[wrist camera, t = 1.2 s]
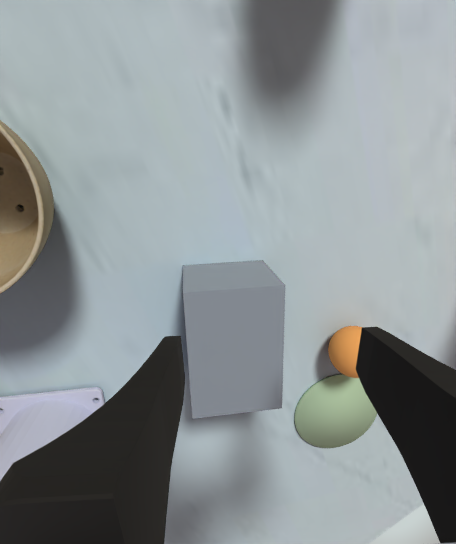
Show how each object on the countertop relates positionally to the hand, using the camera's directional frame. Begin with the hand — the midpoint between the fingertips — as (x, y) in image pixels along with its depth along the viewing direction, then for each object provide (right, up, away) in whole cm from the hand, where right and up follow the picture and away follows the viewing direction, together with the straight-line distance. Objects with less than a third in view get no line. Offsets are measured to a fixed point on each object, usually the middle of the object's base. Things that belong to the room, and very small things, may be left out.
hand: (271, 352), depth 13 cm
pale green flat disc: (+8, -10, +17) cm, 21 cm away
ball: (+8, -3, +13) cm, 16 cm away
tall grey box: (-2, 0, +13) cm, 13 cm away
